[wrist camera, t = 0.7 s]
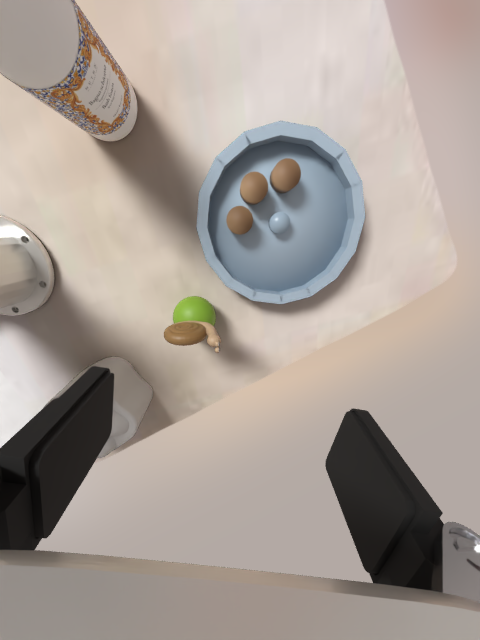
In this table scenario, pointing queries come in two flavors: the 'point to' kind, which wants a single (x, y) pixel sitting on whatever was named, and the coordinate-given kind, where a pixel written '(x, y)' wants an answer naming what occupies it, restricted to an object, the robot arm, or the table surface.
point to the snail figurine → (193, 323)
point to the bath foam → (66, 66)
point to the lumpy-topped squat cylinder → (122, 401)
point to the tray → (282, 214)
